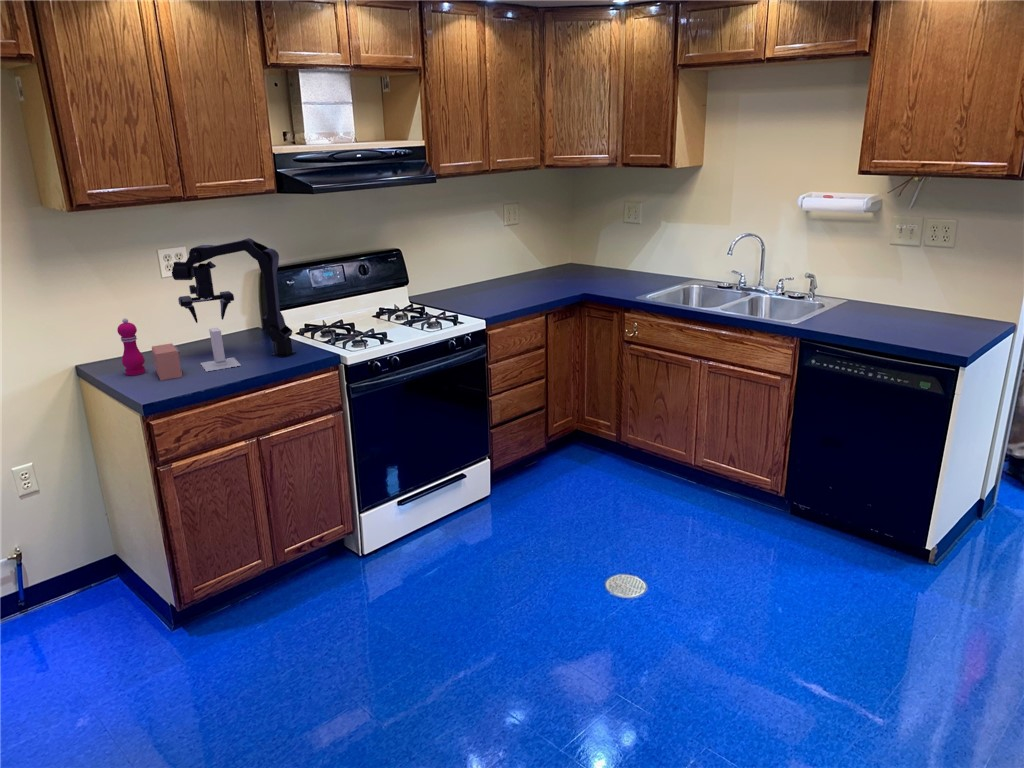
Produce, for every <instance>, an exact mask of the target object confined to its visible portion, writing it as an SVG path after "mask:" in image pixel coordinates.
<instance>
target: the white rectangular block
mask: <svg viewBox="0 0 1024 768" xmlns="http://www.w3.org/2000/svg"><path fill="white" fill-rule="evenodd" d="M208 331H209V335H210V341H211V342H210V343H211V348H212V349H211V350H212V355H213V361H215V364H216V365H217V366H224V365H226V360H225V359H226V356H225V349H224V344H223V337H222V330H221V329H220V328H219V327H214V328H209V329H208Z"/></svg>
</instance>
